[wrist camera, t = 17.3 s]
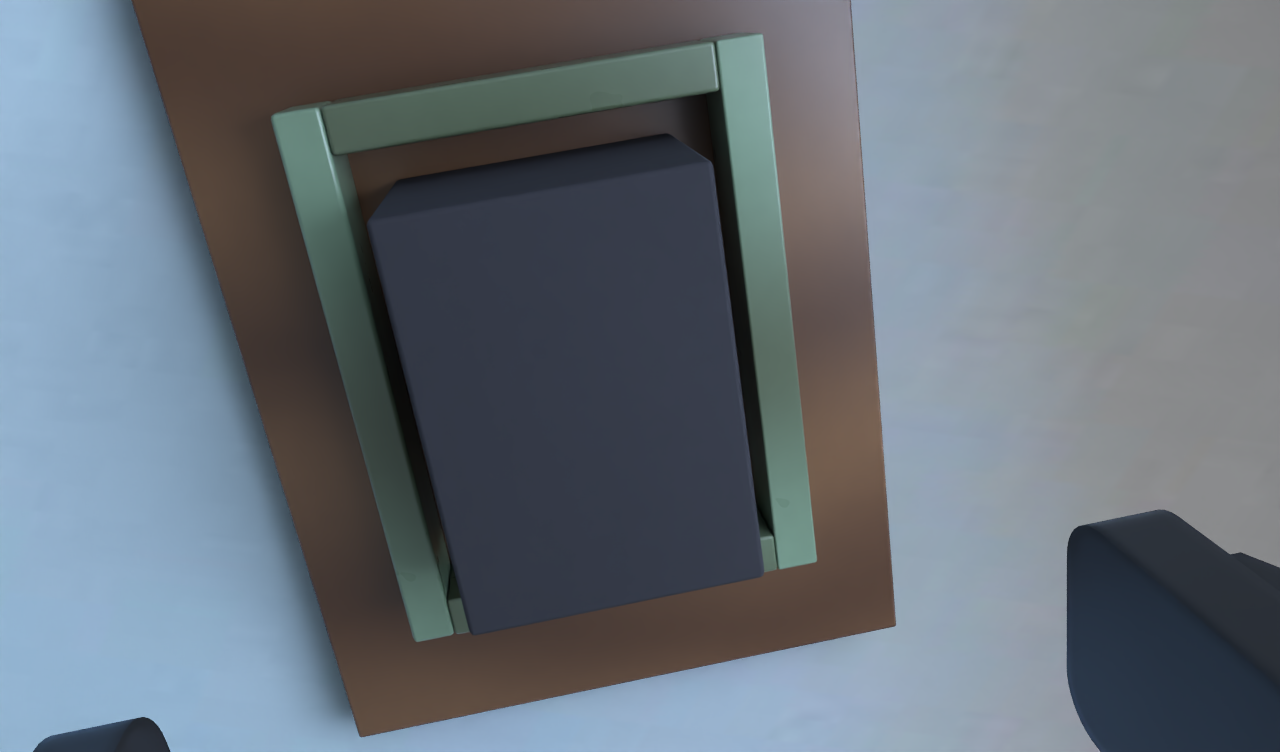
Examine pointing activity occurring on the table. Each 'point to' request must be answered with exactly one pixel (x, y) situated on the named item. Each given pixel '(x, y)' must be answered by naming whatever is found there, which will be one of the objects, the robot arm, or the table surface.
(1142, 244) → the table surface
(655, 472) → the black box
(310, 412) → the back board
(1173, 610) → the robot arm
